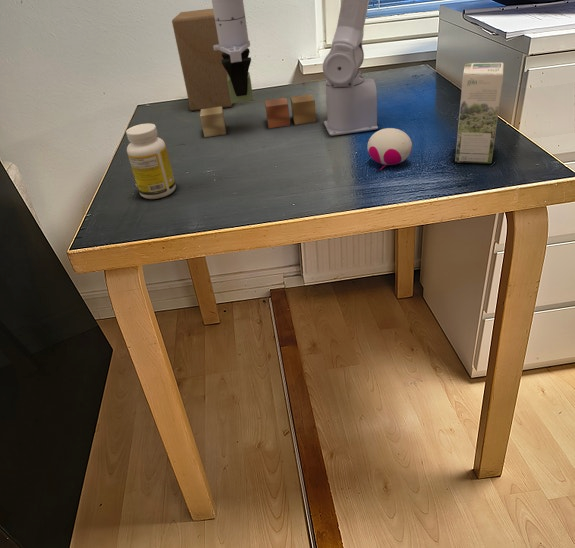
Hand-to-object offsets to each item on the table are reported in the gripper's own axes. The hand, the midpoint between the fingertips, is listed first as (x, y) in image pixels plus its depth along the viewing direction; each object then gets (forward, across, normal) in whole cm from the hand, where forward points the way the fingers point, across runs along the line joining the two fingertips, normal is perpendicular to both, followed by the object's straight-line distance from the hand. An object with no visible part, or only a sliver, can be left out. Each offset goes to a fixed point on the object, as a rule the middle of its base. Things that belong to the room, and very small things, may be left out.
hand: (241, 91), depth 105 cm
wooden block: (+8, -22, -7) cm, 24 cm away
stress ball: (+8, +28, +23) cm, 37 cm away
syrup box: (+8, +30, +37) cm, 48 cm away
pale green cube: (+1, 0, 0) cm, 1 cm away
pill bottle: (+8, +26, -16) cm, 31 cm away
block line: (+8, 0, +3) cm, 8 cm away
